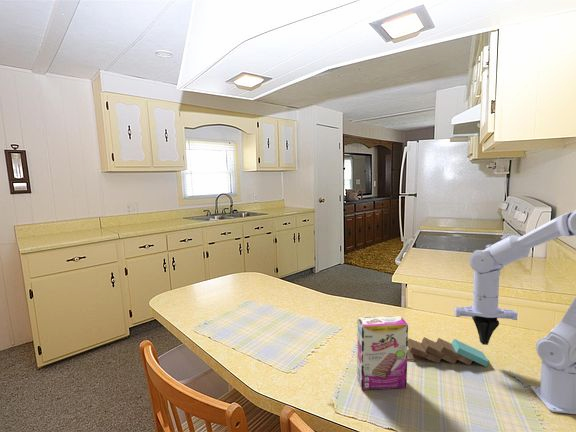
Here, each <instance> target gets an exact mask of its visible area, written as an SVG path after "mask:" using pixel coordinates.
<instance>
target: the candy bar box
mask: <svg viewBox="0 0 576 432" xmlns="http://www.w3.org/2000/svg"><path fill="white" fill-rule="evenodd" d="M356 323H357V331H356V332H357V333H356V334H357V336H356V337H357V339H356V340H357V348H356V349H357V353H356V354H357V357H356V358H357V360H356V361H357V365H356V371H357V372H356V375H357V376H356V377H357V381H358V383H359V385H360V388H361V390H362V391H365V390H366V391H367V390H386V389H387V390H388V389H405V388H407V379H408V375H407V374H408V361H407V350H408V338H409V336H408V335H409V323H407V322H406V320H404V318H403V317H402V316H400V315H399V316H398V315H397V316H378V317H377V316H372V317H371V316H370V317H367V316H365V317H364V316H363V317H357V322H356Z"/></svg>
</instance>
